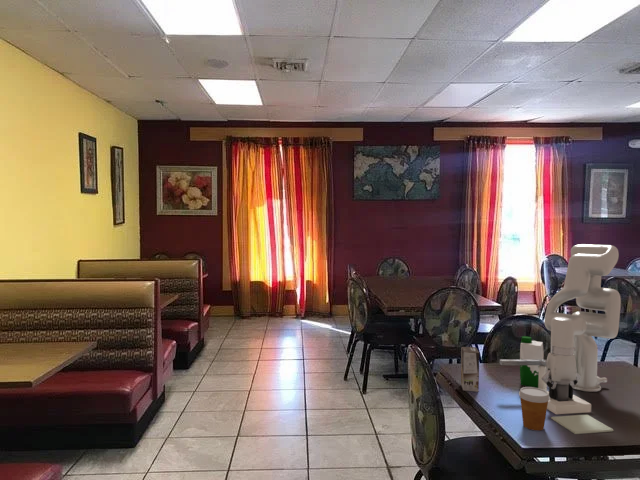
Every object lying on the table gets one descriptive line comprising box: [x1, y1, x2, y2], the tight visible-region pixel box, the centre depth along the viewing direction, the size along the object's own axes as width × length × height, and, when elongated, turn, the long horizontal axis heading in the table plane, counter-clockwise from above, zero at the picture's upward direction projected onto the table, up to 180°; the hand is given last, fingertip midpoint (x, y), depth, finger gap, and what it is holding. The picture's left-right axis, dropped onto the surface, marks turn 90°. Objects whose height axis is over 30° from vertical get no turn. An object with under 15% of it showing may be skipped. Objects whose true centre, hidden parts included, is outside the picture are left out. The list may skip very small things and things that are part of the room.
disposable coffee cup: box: [518, 386, 550, 432], centre depth 155 cm, size 10×10×12 cm
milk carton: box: [519, 335, 545, 388], centre depth 196 cm, size 9×9×20 cm
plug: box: [555, 380, 570, 402], centre depth 173 cm, size 6×6×10 cm
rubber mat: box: [550, 414, 614, 435], centre depth 156 cm, size 14×12×1 cm
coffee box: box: [460, 346, 480, 392], centre depth 191 cm, size 9×6×16 cm
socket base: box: [538, 365, 592, 415], centre depth 176 cm, size 14×20×12 cm
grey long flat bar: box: [499, 359, 547, 366], centre depth 183 cm, size 19×3×2 cm, turn 90°
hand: (560, 397), depth 173 cm, fingers closed on socket base, 6 cm apart
